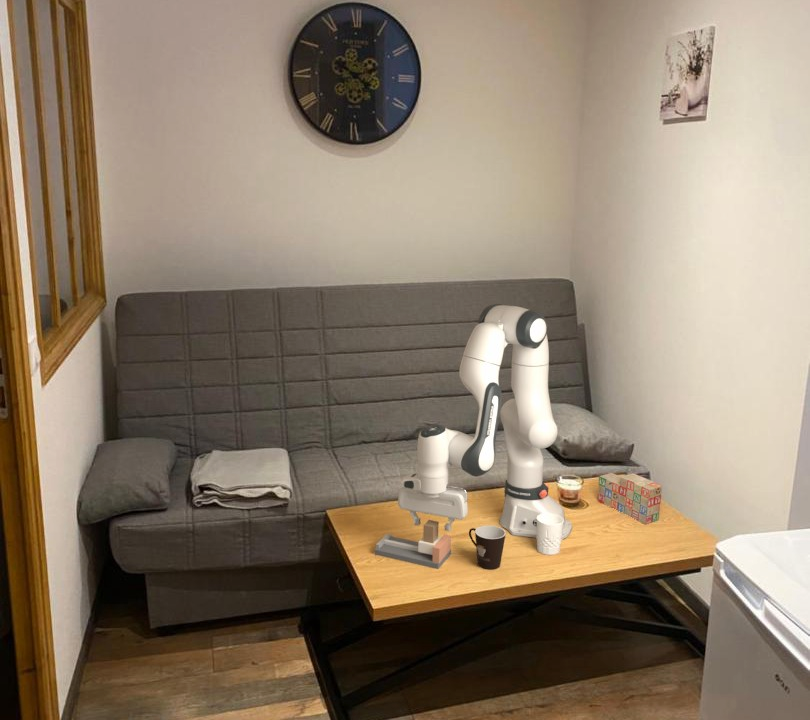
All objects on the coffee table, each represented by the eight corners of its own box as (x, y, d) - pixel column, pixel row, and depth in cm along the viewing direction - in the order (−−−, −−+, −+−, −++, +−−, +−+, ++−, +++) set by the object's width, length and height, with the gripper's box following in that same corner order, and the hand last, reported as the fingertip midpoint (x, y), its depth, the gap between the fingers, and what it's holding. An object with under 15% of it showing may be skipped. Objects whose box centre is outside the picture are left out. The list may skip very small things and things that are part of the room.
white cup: (532, 553, 239) (534, 521, 237) (537, 542, 246) (539, 511, 244) (559, 558, 236) (561, 526, 234) (563, 546, 244) (566, 515, 241)
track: (451, 553, 238) (451, 535, 236) (438, 569, 229) (438, 549, 227) (388, 540, 246) (389, 521, 244) (374, 554, 237) (374, 535, 235)
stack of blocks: (596, 501, 277) (599, 467, 274) (609, 497, 280) (612, 463, 277) (645, 525, 259) (649, 489, 256) (659, 521, 262) (662, 485, 259)
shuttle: (442, 546, 236) (443, 521, 234) (434, 555, 231) (435, 529, 229) (426, 543, 238) (427, 517, 236) (418, 551, 233) (418, 525, 231)
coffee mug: (509, 569, 229) (510, 537, 227) (480, 573, 227) (481, 540, 224) (493, 550, 240) (494, 519, 238) (465, 554, 238) (466, 522, 235)
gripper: (471, 484, 228) (470, 529, 232) (404, 472, 236) (404, 516, 240) (463, 492, 223) (462, 538, 226) (395, 480, 231) (395, 525, 234)
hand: (432, 527), depth 233 cm, fingers open, 8 cm apart
